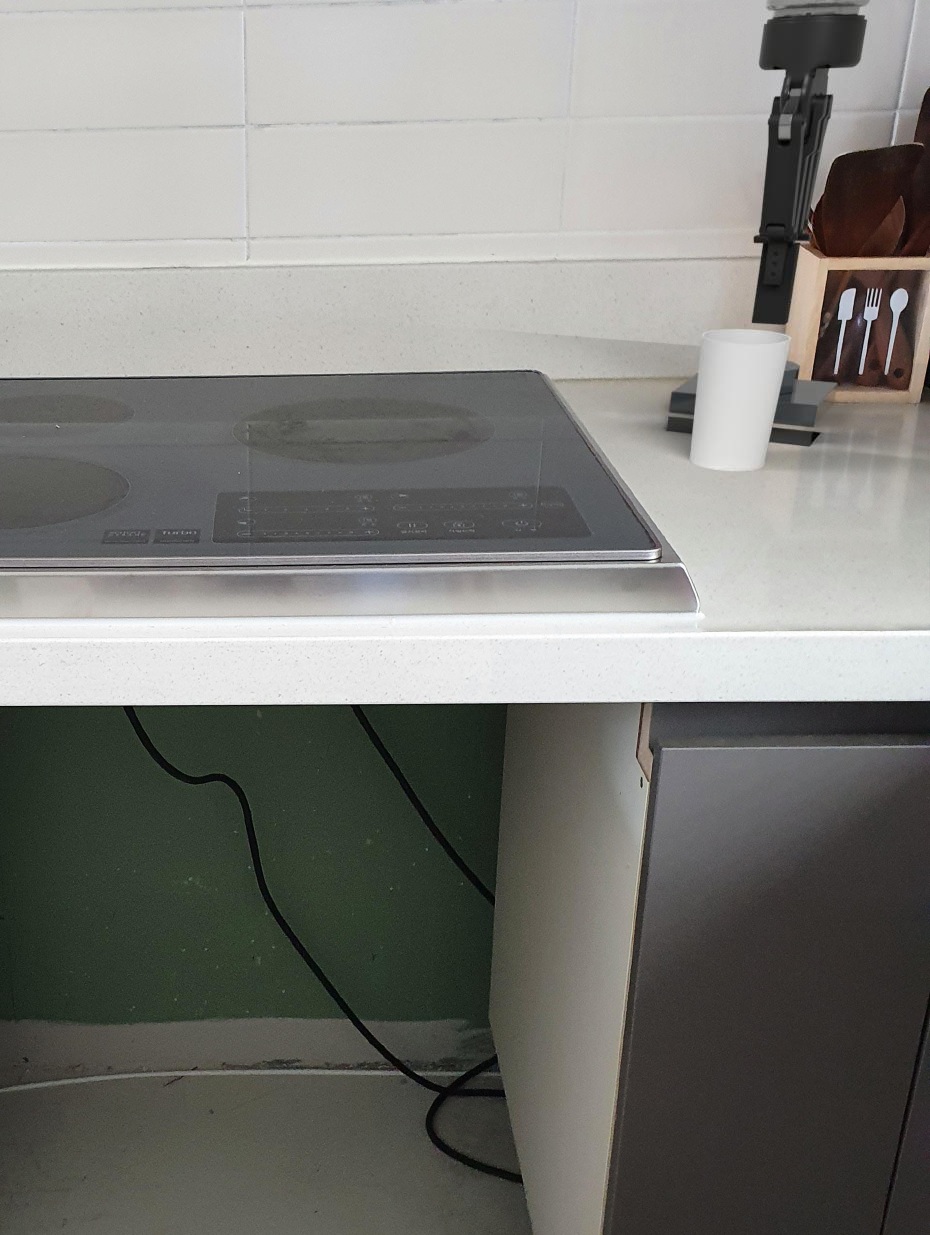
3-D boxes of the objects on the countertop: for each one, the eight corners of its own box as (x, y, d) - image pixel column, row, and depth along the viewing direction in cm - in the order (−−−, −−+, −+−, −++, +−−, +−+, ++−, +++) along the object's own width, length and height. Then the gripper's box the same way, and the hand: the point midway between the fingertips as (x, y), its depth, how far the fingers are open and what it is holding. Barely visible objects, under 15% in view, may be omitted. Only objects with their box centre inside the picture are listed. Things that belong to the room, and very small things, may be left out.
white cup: (777, 473, 106) (800, 344, 102) (690, 471, 108) (708, 344, 103) (761, 452, 112) (781, 329, 108) (678, 450, 113) (695, 328, 109)
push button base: (830, 421, 121) (842, 359, 119) (809, 447, 113) (821, 381, 111) (694, 408, 127) (702, 348, 124) (666, 431, 119) (674, 368, 117)
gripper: (854, 8, 99) (801, 337, 109) (880, 12, 109) (829, 313, 119) (748, 14, 103) (706, 331, 113) (782, 17, 112) (741, 309, 123)
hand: (769, 322), depth 116 cm, fingers closed
